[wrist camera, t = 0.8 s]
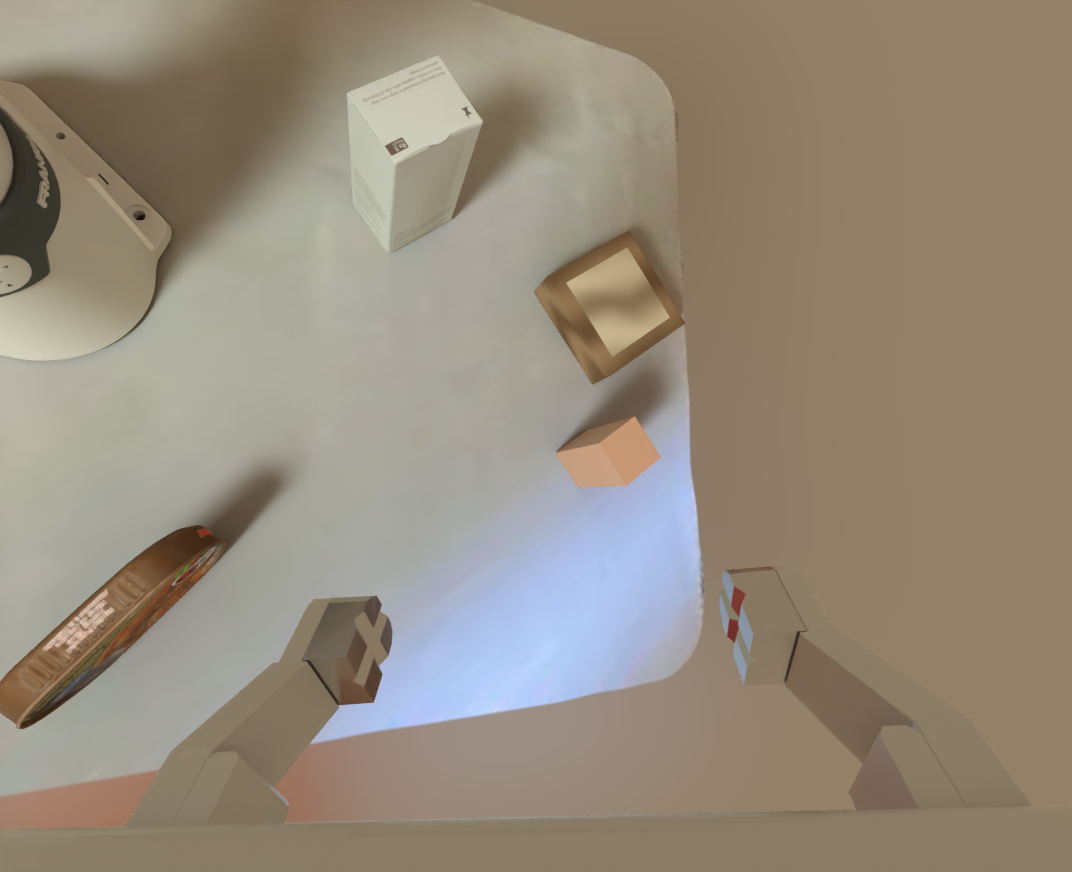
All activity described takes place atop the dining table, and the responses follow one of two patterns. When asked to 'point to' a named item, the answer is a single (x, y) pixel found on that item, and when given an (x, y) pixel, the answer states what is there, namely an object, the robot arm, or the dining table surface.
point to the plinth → (609, 306)
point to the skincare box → (410, 150)
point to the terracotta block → (609, 454)
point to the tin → (107, 624)
